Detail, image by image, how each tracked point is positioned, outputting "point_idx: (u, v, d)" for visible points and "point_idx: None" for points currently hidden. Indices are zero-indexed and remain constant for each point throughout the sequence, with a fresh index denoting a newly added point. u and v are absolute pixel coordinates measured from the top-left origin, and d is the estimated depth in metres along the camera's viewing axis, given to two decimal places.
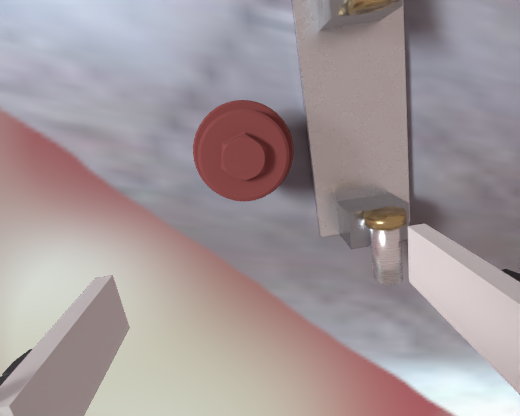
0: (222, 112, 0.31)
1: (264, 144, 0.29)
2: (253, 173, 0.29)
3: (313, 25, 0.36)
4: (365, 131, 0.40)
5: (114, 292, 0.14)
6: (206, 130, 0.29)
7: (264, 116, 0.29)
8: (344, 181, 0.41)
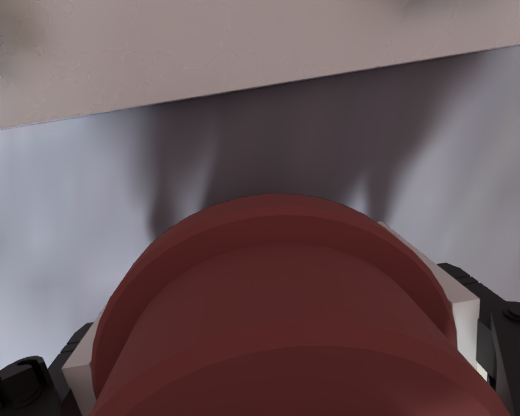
0: None
1: None
2: None
3: None
4: None
5: None
6: None
7: None
8: None
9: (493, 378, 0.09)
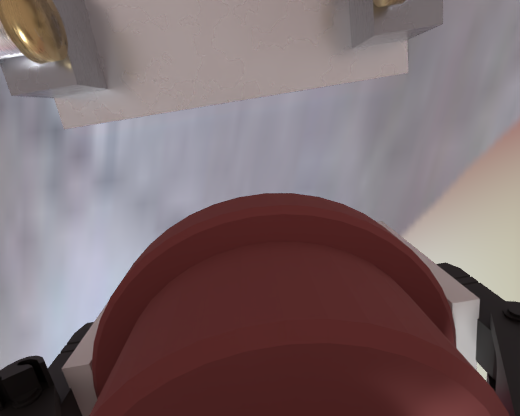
0: None
1: None
2: None
3: (103, 97, 0.27)
4: (242, 4, 0.25)
5: None
6: None
7: None
8: (319, 36, 0.26)
9: (493, 378, 0.09)
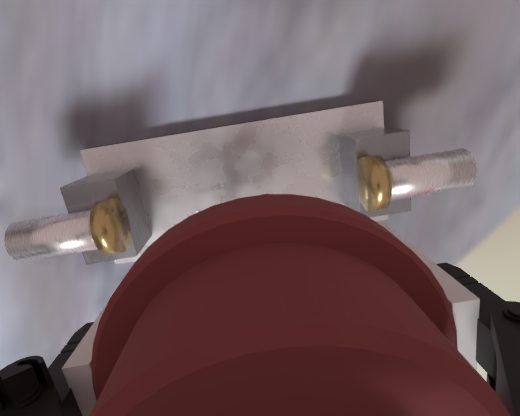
0: None
1: None
2: None
3: (147, 241, 0.34)
4: (258, 175, 0.32)
5: None
6: None
7: None
8: (319, 195, 0.33)
9: (493, 378, 0.09)
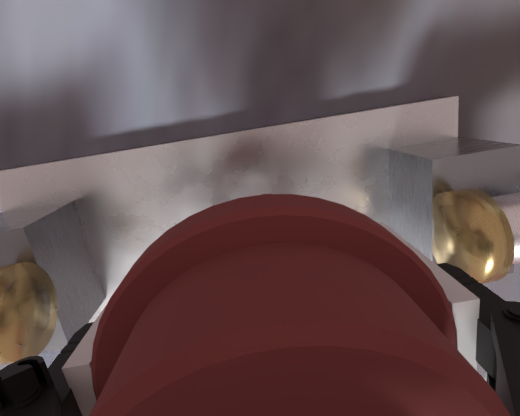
0: None
1: None
2: None
3: (100, 306, 0.23)
4: None
5: None
6: None
7: None
8: None
9: (493, 378, 0.09)
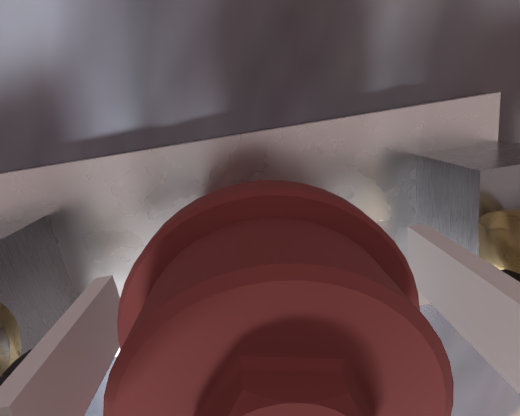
0: None
1: (233, 365, 0.07)
2: None
3: None
4: None
5: (114, 292, 0.14)
6: None
7: (121, 365, 0.07)
8: None
9: None
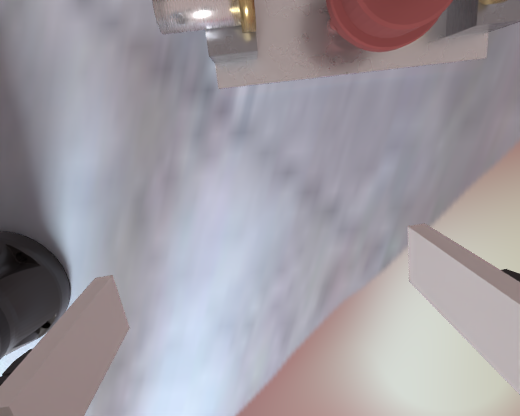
0: (340, 5, 0.26)
1: None
2: None
3: (252, 65, 0.35)
4: None
5: (114, 292, 0.14)
6: (369, 13, 0.24)
7: None
8: None
9: None
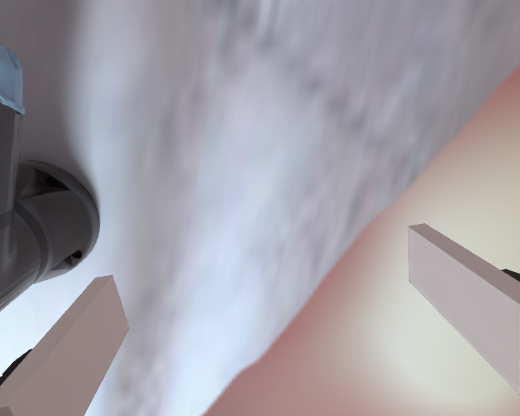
0: None
1: None
2: None
3: None
4: None
5: (114, 292, 0.14)
6: None
7: None
8: None
9: None
